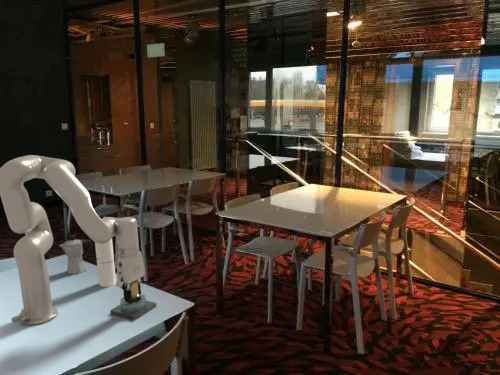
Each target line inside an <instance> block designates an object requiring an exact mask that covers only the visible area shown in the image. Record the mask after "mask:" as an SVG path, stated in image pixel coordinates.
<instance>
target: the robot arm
mask: <svg viewBox="0 0 500 375" xmlns="http://www.w3.org/2000/svg"><path fill="white" fill-rule="evenodd" d="M33 179H42V180H44V181H45V182H46V183H47V184H48V185H49V187H50V188H52V190H53V191H54V192H55V193H56V194H57V195H58V196H59V197H60V198H61V199H62V201H64V203H65V204H66V205H67V207H68V208H69V209H70V211H71V214H72V216H73V218H74V219H75V222H76V223H77V225H78V226H79V227H80V229H81V230H82V231H83V232H84V233H85V235H86V236H88V238H89V239H90V240H91V241H93V242H94V243H95V242H96V243H99V244H104V243H107V242H109V241H110V240H111V238H112V239H113V237H115V236H116V241H117V242H116V243H117V253H116V254H117V264H116V270H117V272H116V273H117V274H116V277H117V280H116V284H115V286H116V287H118V288H120V289H121V290H122V293H123V297H124V299H126V300H131V290H129V288H130V283H131V282H133V281H135V280H138V291H139V295H140V294H142V289H141V288H142V287H141V284H142V280H143V277H144V275H145V273H146V272H145V263H144V259H143V255H142V252H141V251H140V245H139V232H138V221H137V219H136V218H135V217H131V216H125V217H113V216H105V217H102V218H101V217H100V216H99V215H98V213H97V212H96V211H95V209H94V207H93V204H92V198H91V194H90V192H89V190H88V189H87V188H86V187H85V186H84V184H82V182H81V181H80V180H79V179H78V177H76V168H75V166H74V164H73V163H72V162H70V161H69V160H65V159H61V158H54V157H48V156H42V155H36V154H35V155H34V154H29V155H23V156H19V157H15V158H13V159H11V160H8V161H7V162H5V163H4V164H3V165H2V166H1V167H0V199H1V202H2V205H3V209H4V212H5V215H6V219H7V223H8V226H9V228H10V229H11V231H13V233H16V234H20V235H21V234H25V236H22V237H21V238H20V239H19V240H18V241H17V242H16V244H15V245H14V247H13V257H14V260H15V263H16V266H17V270H18V271H17V272H18V277H19V278H18V279H19V282H20V283H19V284H20V290H21V291H20V292H21V298H22V305H23V308H22V309H21V310H20V313H18V315H15V316H13V317H11V322H12V323H13V324H15V323H16V322H18V321H20V322H21V324H23V325H28V326H29V325H30V326H33V325H40V324H44V323H47V322H50V321H51V320H53V319H55V318H56V317H57V316H58V314H59V313H58V312H59V311H58V308H56V307H54V306H53V300H52V298H53V297H52V291H51V284H50V283H51V282H50V275H49V269H48V264H47V262H46V259H45V254H47V252H48V251H49V250H50V249H51V248H52V246H53V244H54V236H53V232H52V229H51V225H50V222H49V218H48V215H47V212H46V210H45V209H44V207H43V206H42V205H40V204H39V203H37V202H34V201H31V199H30V196H29V192H28V190H27V189H26V187H25V186H24V183H25V182H27V181H30V180H33ZM125 283H126V286H125Z"/></svg>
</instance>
